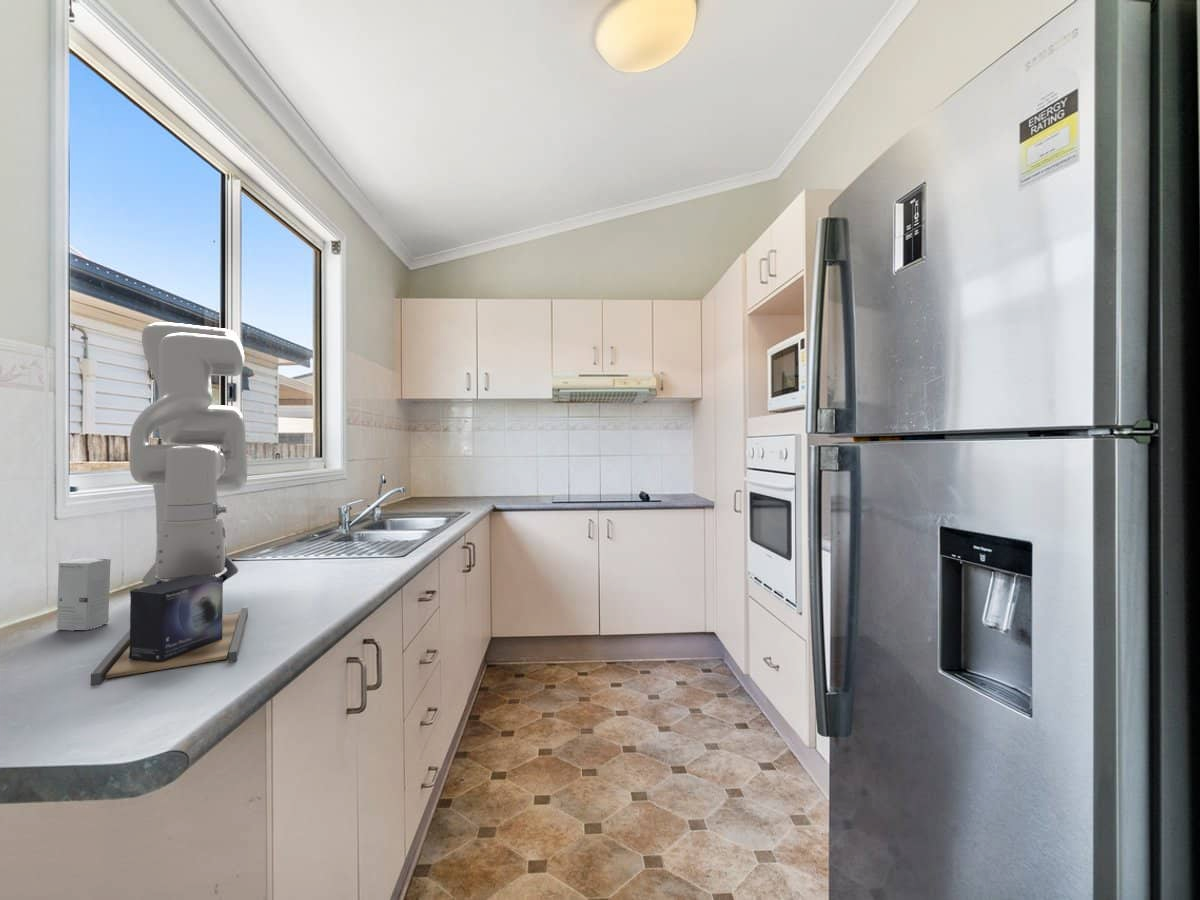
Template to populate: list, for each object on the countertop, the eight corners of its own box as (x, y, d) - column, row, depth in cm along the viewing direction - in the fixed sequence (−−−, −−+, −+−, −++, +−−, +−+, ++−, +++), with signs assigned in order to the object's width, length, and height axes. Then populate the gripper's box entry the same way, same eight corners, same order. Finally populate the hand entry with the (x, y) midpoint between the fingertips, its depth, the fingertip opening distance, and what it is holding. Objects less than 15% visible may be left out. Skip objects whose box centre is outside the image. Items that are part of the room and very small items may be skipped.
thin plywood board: (146, 627, 97) (145, 591, 97) (239, 615, 104) (239, 581, 104) (106, 678, 76) (105, 631, 76) (227, 658, 83) (226, 616, 83)
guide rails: (136, 629, 97) (136, 621, 97) (247, 615, 105) (247, 607, 105) (90, 685, 74) (90, 674, 74) (236, 661, 82) (236, 651, 82)
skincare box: (55, 630, 96) (54, 562, 96) (80, 622, 101) (80, 557, 101) (87, 631, 96) (87, 562, 96) (112, 623, 100) (111, 557, 100)
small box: (162, 663, 80) (162, 592, 80) (126, 660, 81) (126, 590, 81) (225, 638, 90) (225, 575, 90) (192, 636, 91) (192, 573, 91)
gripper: (248, 508, 106) (248, 602, 106) (137, 514, 98) (138, 616, 98) (245, 512, 99) (246, 612, 100) (126, 519, 91) (127, 628, 91)
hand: (192, 613), depth 99 cm, fingers closed on thin plywood board, 4 cm apart
